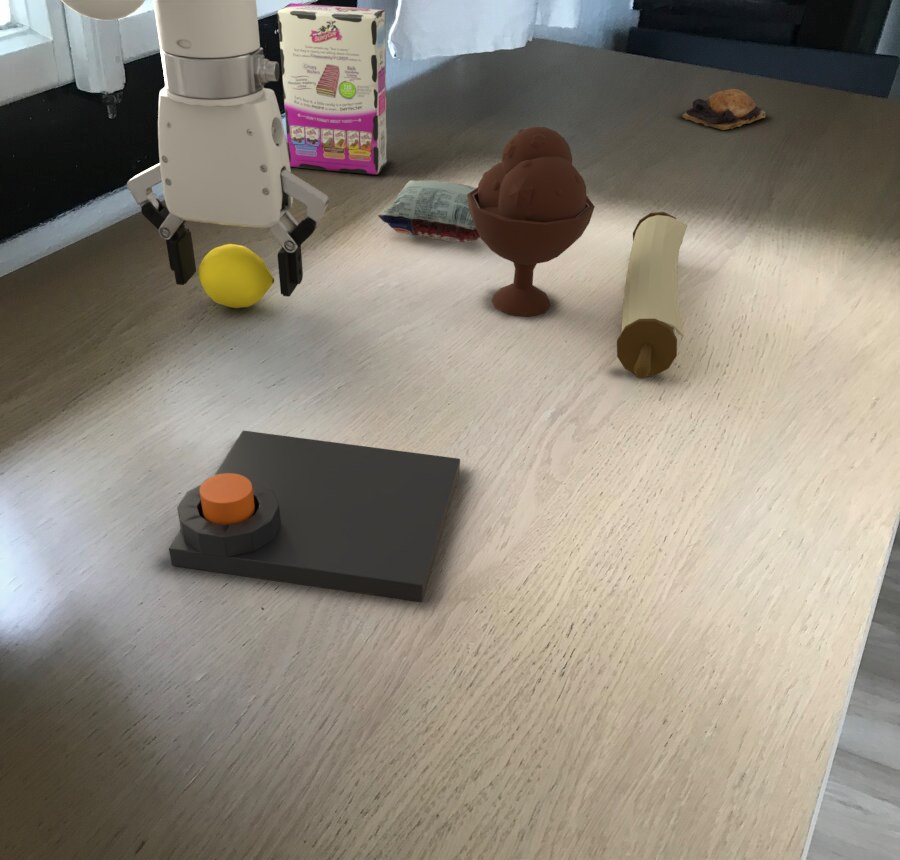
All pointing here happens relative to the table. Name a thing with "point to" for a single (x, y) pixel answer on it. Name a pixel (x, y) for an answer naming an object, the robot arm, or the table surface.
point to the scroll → (652, 297)
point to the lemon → (234, 276)
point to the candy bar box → (334, 87)
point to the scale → (326, 516)
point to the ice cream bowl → (530, 212)
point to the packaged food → (433, 211)
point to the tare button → (227, 498)
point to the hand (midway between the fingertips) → (238, 284)
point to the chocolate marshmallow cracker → (725, 110)
